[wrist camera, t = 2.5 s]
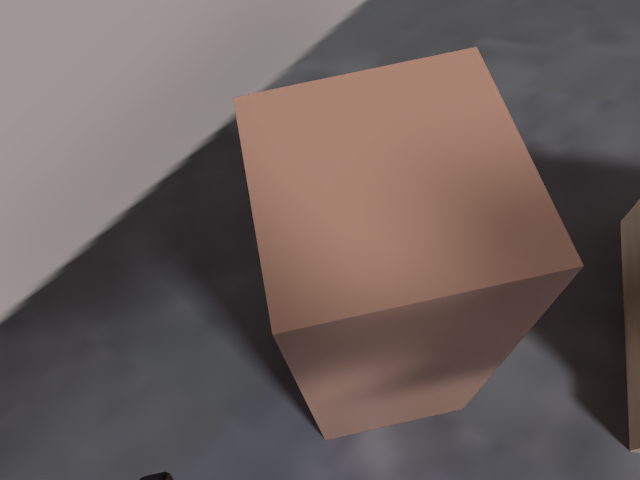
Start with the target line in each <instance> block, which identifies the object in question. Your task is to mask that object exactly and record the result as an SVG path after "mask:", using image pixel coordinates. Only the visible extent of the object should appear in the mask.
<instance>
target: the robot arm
mask: <svg viewBox="0 0 640 480" xmlns="http://www.w3.org/2000/svg"><path fill="white" fill-rule="evenodd" d="M140 480H173V478H172V476H171V475H170V474H169V473H167V472H162V473H157V474H153V475H148V476H145V477H142V478H141V479H140Z"/></svg>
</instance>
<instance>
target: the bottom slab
mask: <svg viewBox="0 0 640 480" xmlns="http://www.w3.org/2000/svg"><path fill="white" fill-rule="evenodd" d="M620 223H621V248H622V272H623V297H624V322H625V346H626V371H627V396H628V420H629V445H630V451H632V452H637V453H640V199H639V200H638V202H637V203H636V204H635V205H634V206H633V208H632V209H631V210H630V211H629V212H628V213H627V215H626V216H625V217H624V218H623V219H622V220H621V222H620Z"/></svg>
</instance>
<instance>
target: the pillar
mask: <svg viewBox="0 0 640 480" xmlns="http://www.w3.org/2000/svg"><path fill="white" fill-rule="evenodd" d="M233 100H234V106H235V112H236V118H237V124H238V130H239V137H240V143H241V149H242V155H243V161H244V167H245V173H246V179H247V185H248V191H249V197H250V203H251V209H252V215H253V221H254V227H255V233H256V239H257V245H258V251H259V257H260V263H261V269H262V275H263V281H264V287H265V293H266V299H267V305H268V311H269V317H270V323H271V329H272V335H273V337H274V339H275V341H276V343H277V345H278V347H279V349H280V351H281V353H282V355H283V357H284V359H285V361H286V363H287V365H288V367H289V369H290V371H291V373H292V375H293V377H294V379H295V381H296V383H297V385H298V387H299V389H300V391H301V393H302V395H303V397H304V399H305V401H306V403H307V405H308V407H309V409H310V411H311V413H312V415H313V417H314V419H315V421H316V423H317V425H318V427H319V429H320V431H321V433H322V435H323V437H324V439H325V440H328V439H332V438H337V437H341V436H346V435H350V434H354V433H359V432H363V431H368V430H372V429H376V428H381V427H385V426H390V425H394V424H399V423H403V422H407V421H412V420H416V419H421V418H425V417H429V416H434V415H438V414H443V413H447V412H452V411H456V410H460V409H463V408H464V407H465V406H466V405H467V403H468V402H469V401H470V400H471V399H472V397H473V396H474V395H475V394H476V393H477V392H478V390H479V389H480V388H481V387H482V386H483V385H484V383H485V382H486V381H487V380H488V379H489V377H490V376H491V375H492V374H493V373H494V372H495V370H496V369H497V368H498V367H499V366H500V364H501V363H502V362H503V361H504V360H505V359H506V357H507V356H508V355H509V354H510V353H511V351H512V350H513V349H514V348H515V347H516V346H517V344H518V343H519V342H520V341H521V340H522V338H523V337H524V336H525V335H526V334H527V333H528V331H529V330H530V329H531V328H532V327H533V326H534V324H535V323H536V322H537V321H538V320H539V318H540V317H541V316H542V315H543V314H544V313H545V311H546V310H547V309H548V308H549V307H550V305H551V304H552V303H553V302H554V301H555V300H556V298H557V297H558V296H559V295H560V294H561V292H562V291H563V290H564V289H565V288H566V287H567V285H568V284H569V283H570V282H571V281H572V279H573V278H574V277H575V276H576V275H577V274H578V272H579V271H580V270H581V269H582V268H583V267H584V265H583V263H582V261H581V259H580V257H579V255H578V253H577V251H576V249H575V247H574V245H573V243H572V241H571V239H570V236H569V234H568V232H567V230H566V228H565V226H564V224H563V222H562V220H561V218H560V216H559V214H558V212H557V210H556V208H555V206H554V204H553V202H552V200H551V198H550V196H549V194H548V191H547V189H546V187H545V185H544V183H543V181H542V179H541V177H540V175H539V173H538V171H537V169H536V167H535V165H534V163H533V161H532V159H531V157H530V155H529V153H528V151H527V149H526V146H525V144H524V142H523V140H522V138H521V136H520V134H519V132H518V130H517V128H516V126H515V124H514V122H513V120H512V118H511V116H510V114H509V112H508V110H507V108H506V106H505V104H504V102H503V99H502V97H501V95H500V93H499V91H498V89H497V87H496V85H495V83H494V81H493V79H492V77H491V75H490V73H489V71H488V69H487V67H486V65H485V63H484V61H483V59H482V57H481V54H480V52H479V50H478V48H477V47H474V48H469V49H464V50H459V51H455V52H450V53H445V54H440V55H435V56H431V57H426V58H421V59H416V60H411V61H407V62H402V63H397V64H392V65H387V66H382V67H378V68H373V69H368V70H363V71H358V72H354V73H349V74H344V75H339V76H334V77H330V78H325V79H320V80H315V81H310V82H306V83H301V84H296V85H291V86H286V87H282V88H277V89H272V90H267V91H262V92H258V93H253V94H248V95H244V96H238V97H234V98H233Z"/></svg>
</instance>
